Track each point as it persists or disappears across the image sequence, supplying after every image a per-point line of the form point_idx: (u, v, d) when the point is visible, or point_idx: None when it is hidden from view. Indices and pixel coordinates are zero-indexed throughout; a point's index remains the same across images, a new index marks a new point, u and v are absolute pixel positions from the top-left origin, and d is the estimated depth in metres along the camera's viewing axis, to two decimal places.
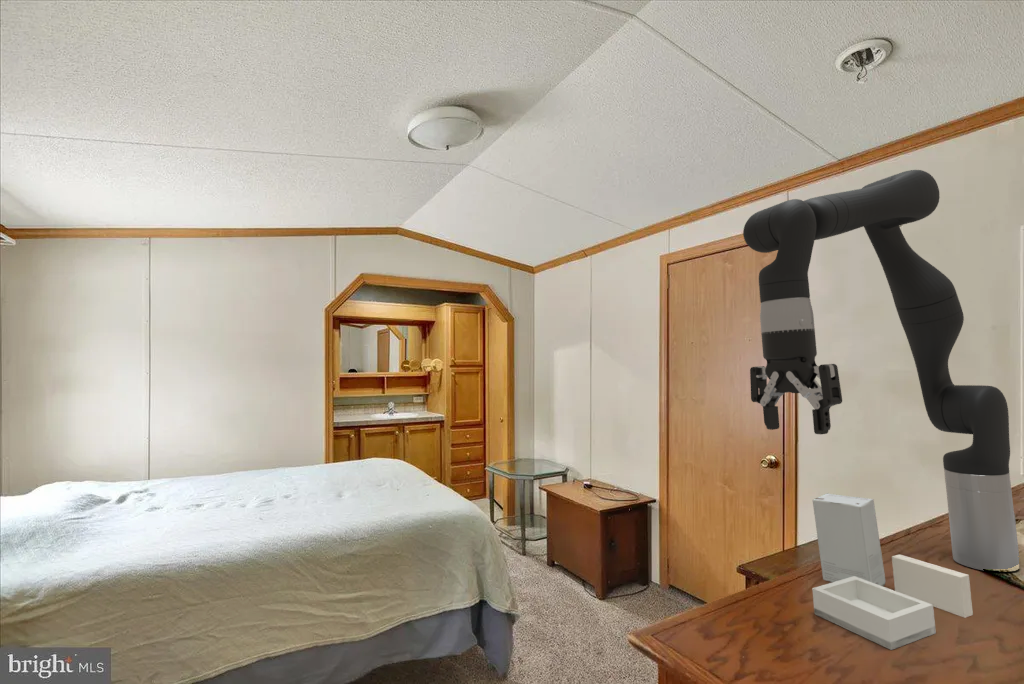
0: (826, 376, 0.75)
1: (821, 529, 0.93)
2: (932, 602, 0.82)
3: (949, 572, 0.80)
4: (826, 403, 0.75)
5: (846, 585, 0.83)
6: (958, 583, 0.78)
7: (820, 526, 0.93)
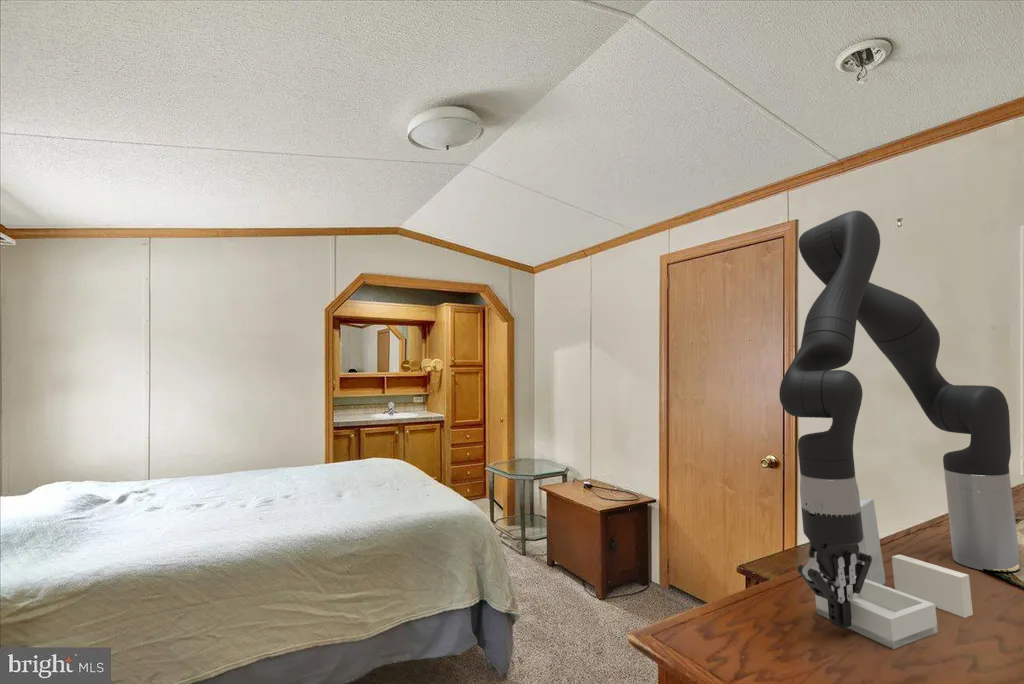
0: (867, 568, 0.76)
1: None
2: (932, 602, 0.82)
3: (949, 572, 0.80)
4: (858, 592, 0.75)
5: None
6: (958, 583, 0.78)
7: None
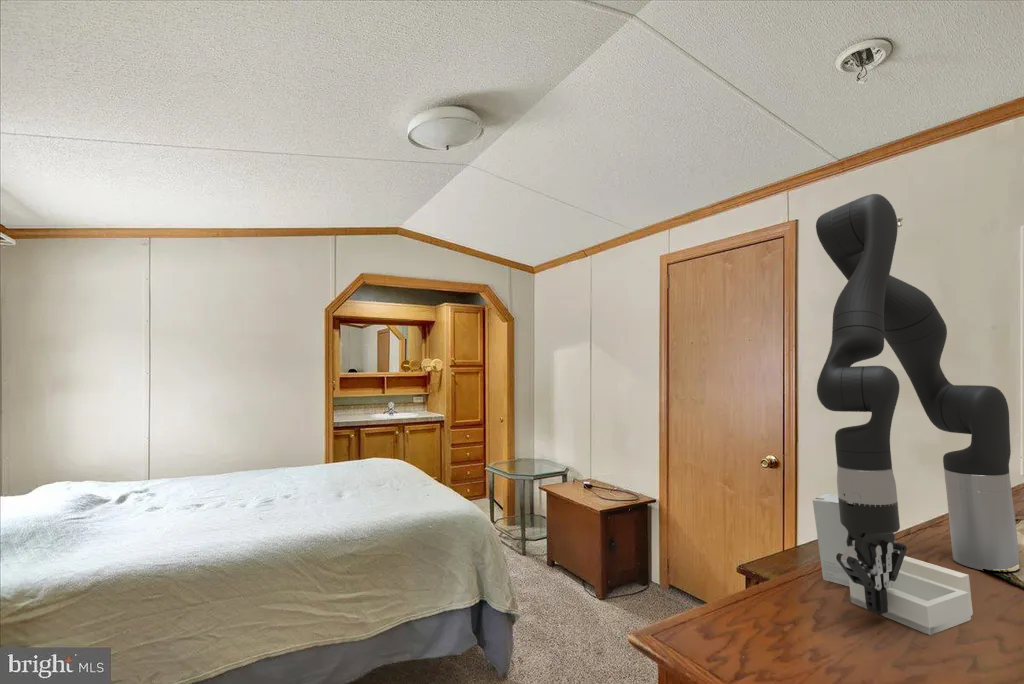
0: (902, 556, 0.79)
1: (821, 529, 0.93)
2: None
3: (949, 572, 0.80)
4: (894, 579, 0.78)
5: None
6: (958, 583, 0.78)
7: (820, 526, 0.93)
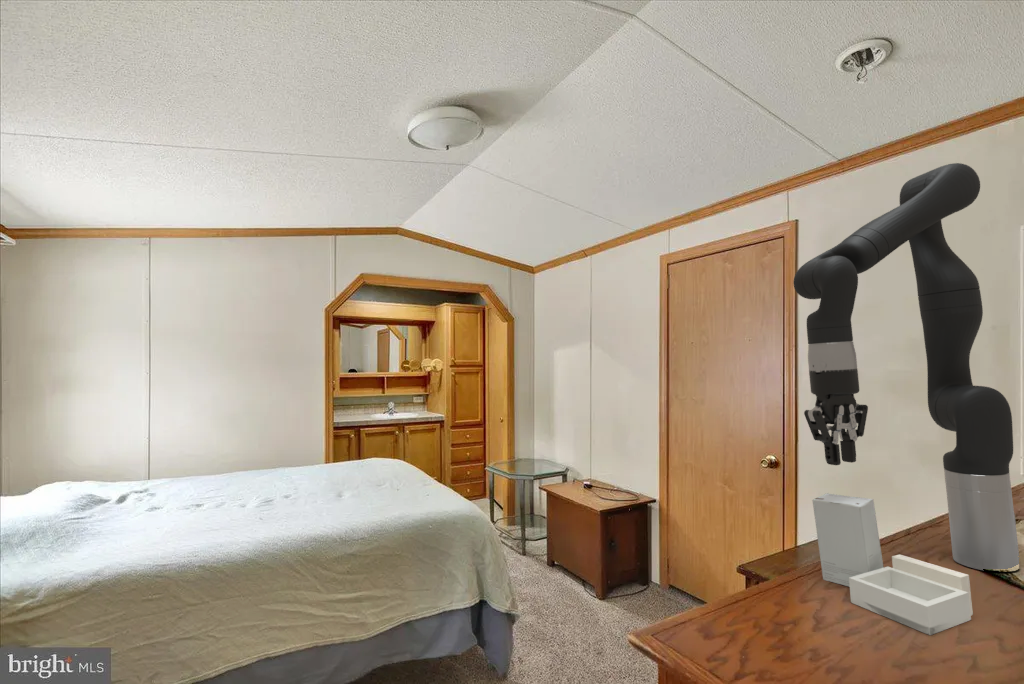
0: (865, 414, 0.94)
1: (821, 529, 0.93)
2: None
3: (949, 572, 0.80)
4: (861, 435, 0.93)
5: (881, 575, 0.86)
6: (958, 583, 0.78)
7: (820, 526, 0.93)
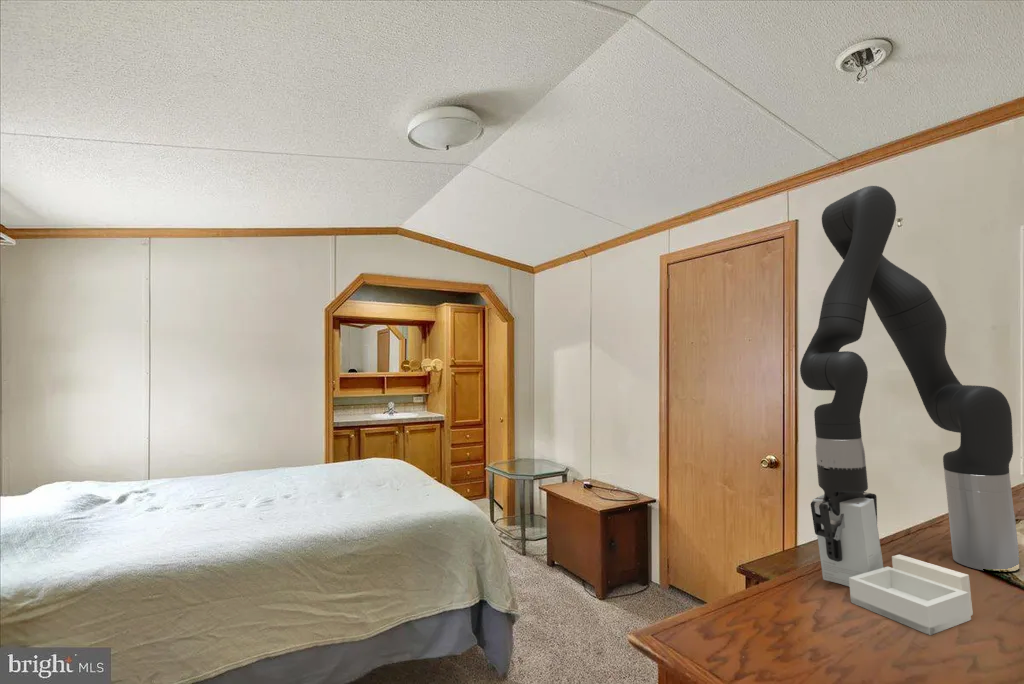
0: (875, 503, 0.94)
1: None
2: None
3: (949, 572, 0.80)
4: None
5: (881, 575, 0.86)
6: (958, 583, 0.78)
7: None
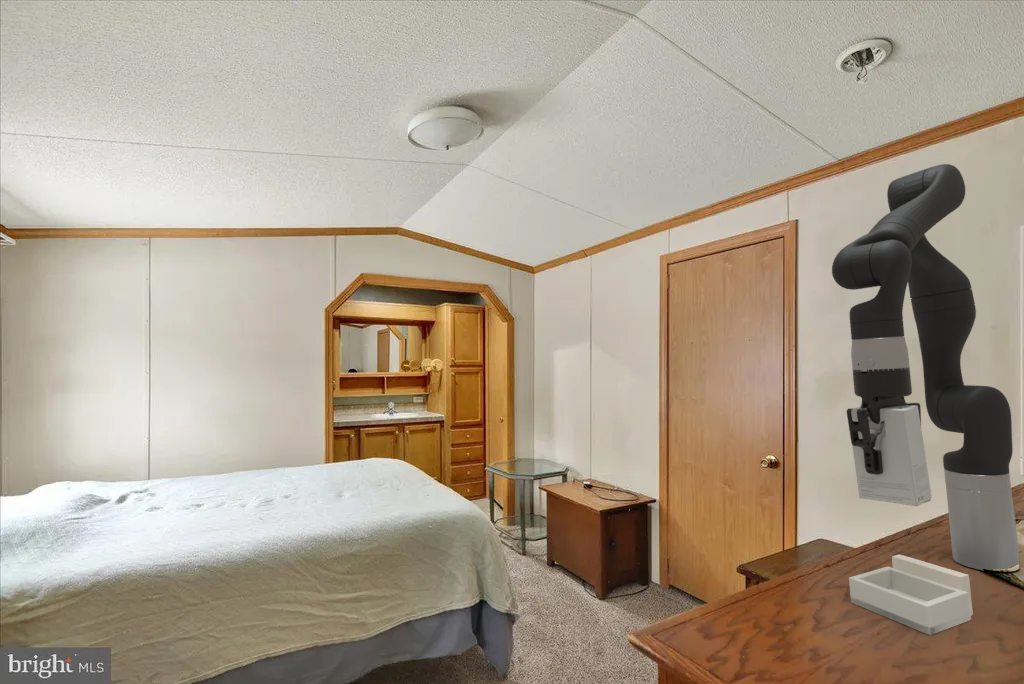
0: (919, 414, 0.84)
1: None
2: None
3: (949, 572, 0.80)
4: None
5: (881, 575, 0.86)
6: (958, 583, 0.78)
7: None
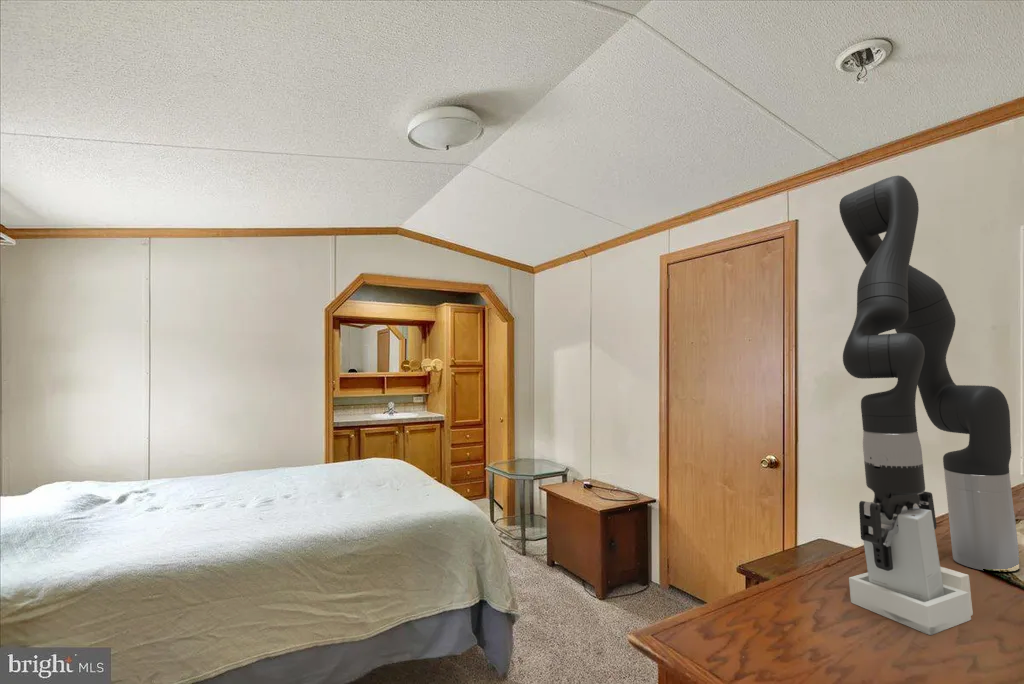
0: (932, 503, 0.82)
1: (869, 543, 0.82)
2: None
3: (949, 572, 0.80)
4: (934, 528, 0.82)
5: None
6: (958, 583, 0.78)
7: None
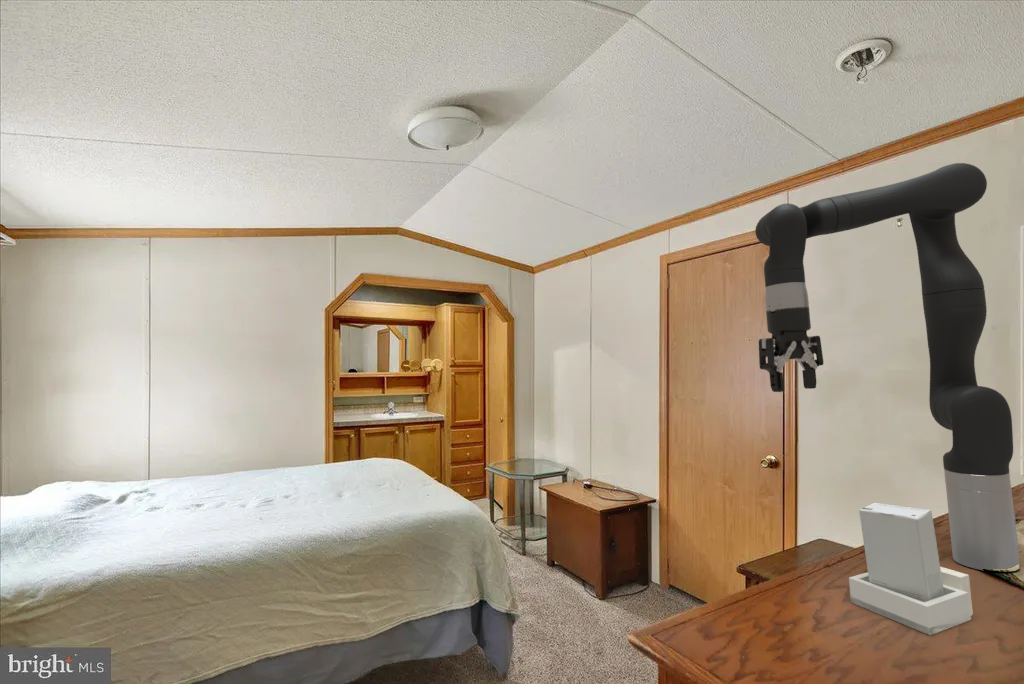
0: (819, 344, 1.02)
1: (870, 543, 0.82)
2: None
3: (949, 572, 0.80)
4: (821, 364, 1.02)
5: None
6: (958, 583, 0.78)
7: (868, 540, 0.82)
